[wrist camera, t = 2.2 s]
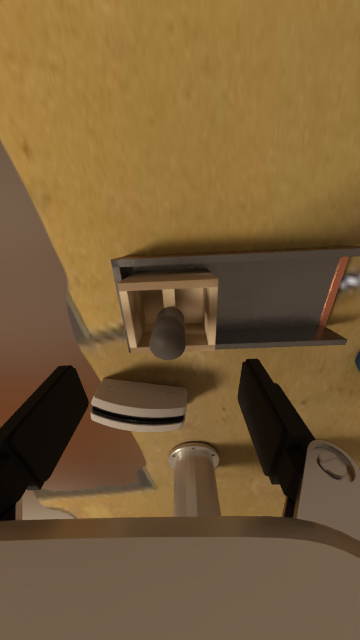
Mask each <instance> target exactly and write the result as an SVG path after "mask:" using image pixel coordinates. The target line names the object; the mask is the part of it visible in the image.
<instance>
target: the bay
mask: <svg viewBox="0 0 360 640" xmlns="http://www.w3.org/2000/svg"><path fill="white" fill-rule="evenodd" d="M350 256H360V246H336V247H314V248H293V249H272V250H251V251H229V252H208V253H187V254H165V255H144V256H124V257H120V258H116V259H112V260H111V264H112V269H113V274H114V279H115V284H116V289H117V294H118V299H119V304H120V309H121V313H122V318H123V323H124V328H125V333H126V338H127V343H128V348H129V352H131V350H130V345H129V340H128V335H127V330H126V324H125V319H124V314H123V309H122V304H121V299H120V294H119V289H118V284H117V283H119V282H120V281H122V280H123V279H125V278H126V277H128V276H129V275H131V274H132V273H134V272H149V271H171V270H193V269H209V270H210V271H211V272H212V273H213V274H214V275H215V276H216V277H217V278H218V298H217V318H216V338H215V349H238V348H265V347H293V346H320V345H345V344H346V342H347V339H345V338H344V337H342V336H340V335H339V334H337V333H335V332H333V331H332V330H330V329H328V328H327V327H325V326H326V323H327V320H328V317H329V314H330V311H331V308H332V306H333V303H334V300H335V297H336V294H337V291H338V288H339V285H340V283H341V280H342V277H343V274H344V271H345V268H346V265H347V262H348V259H349V257H350Z"/></svg>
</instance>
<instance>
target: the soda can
mask: <svg viewBox="0 0 360 640" xmlns="http://www.w3.org/2000/svg"><path fill="white" fill-rule="evenodd" d="M355 363H356V366H357V368H358V370H359V371H360V350H359V351H358V352H357V354H356V356H355Z"/></svg>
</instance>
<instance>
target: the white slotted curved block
mask: <svg viewBox="0 0 360 640" xmlns="http://www.w3.org/2000/svg"><path fill="white" fill-rule="evenodd" d="M91 404H92V405H93V406H92V409H91V419H92V420H93V421H96V422H98V423H101V424H104V425H107V426H110V427H114V428H119V429H123V430H129V431H138V432H164V431H172V430H178V429H181V428H182V427H183V424H184V421H185V413H186V407H187V388H183V387H175V386H166V385H158V384H149V383H141V382H133V381H124V380H116V379H107V378H103V380H102V382H101V384H100V386H99V387H98V389H97V391H96V393H95V394H94V396H93V400H92V402H91Z"/></svg>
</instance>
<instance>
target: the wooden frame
mask: <svg viewBox="0 0 360 640" xmlns="http://www.w3.org/2000/svg"><path fill="white" fill-rule="evenodd" d="M117 284H118V289H119V294H120V299H121V304H122V309H123V314H124V319H125V324H126V330H127V335H128V340H129V345H130V350H131V353H153V354H154V355H155V356H156V357H158V358H160V359H164V360H172V359H176V358H178V357H179V356H181V355H182V353H183V352H185V351H212V350H215V338H216V318H217V298H218V278H217V277H216V276H215V275H214V274H213V273H212V272H211V271H210V270H209V269H193V270H171V271H149V272H134V273H132V274H131V275H129V276H128V277H126V278H125V279H123V280H122V281H120V282H119V283H117Z"/></svg>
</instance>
